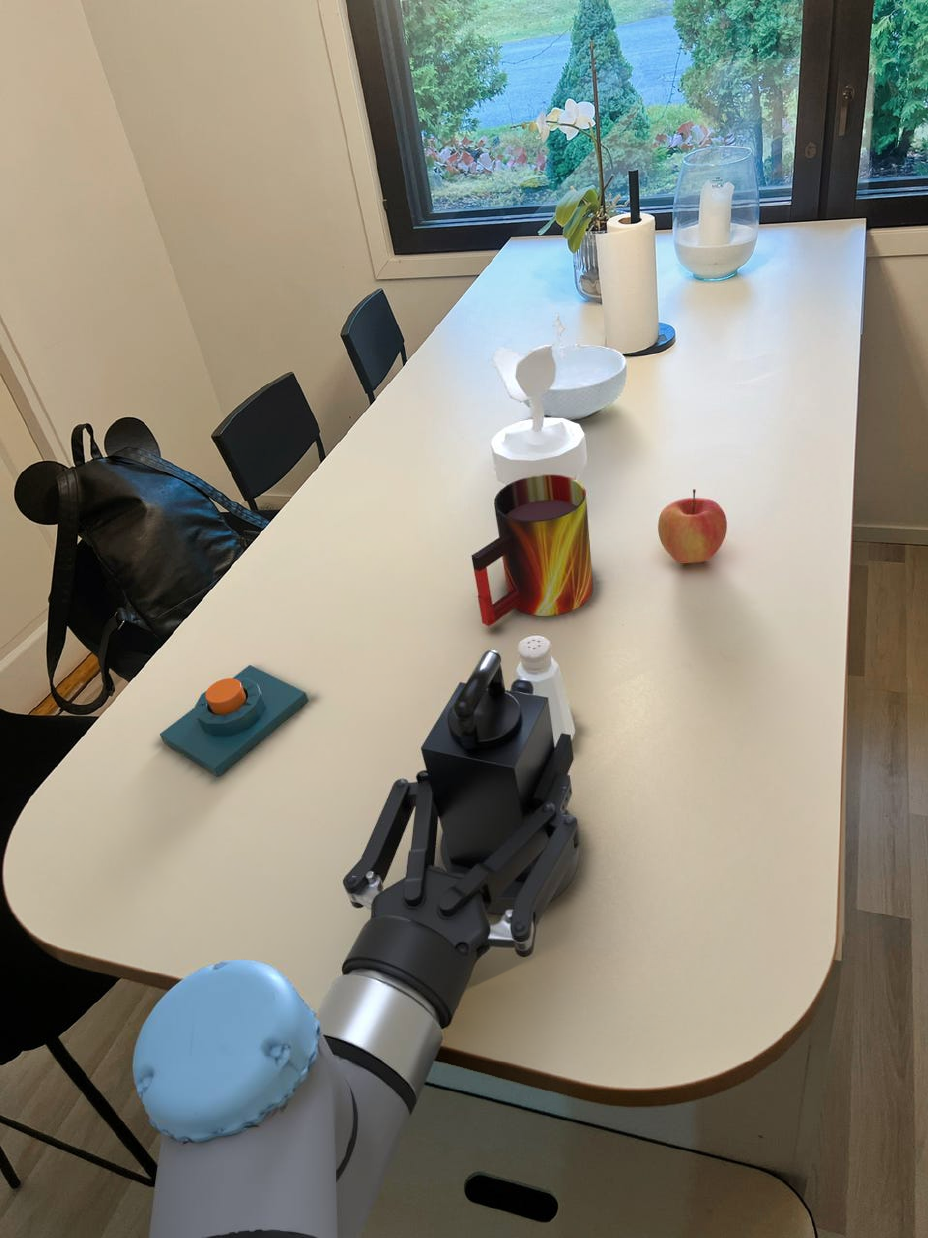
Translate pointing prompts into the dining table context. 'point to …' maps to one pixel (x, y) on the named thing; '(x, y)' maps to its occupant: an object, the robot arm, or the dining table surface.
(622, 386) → the cereal bowl
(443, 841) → the kettle base
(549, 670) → the salt shaker
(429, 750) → the kettle
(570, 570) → the mug
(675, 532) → the apple
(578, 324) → the dining table surface
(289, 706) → the switch block
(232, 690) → the power button
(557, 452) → the potted plant
